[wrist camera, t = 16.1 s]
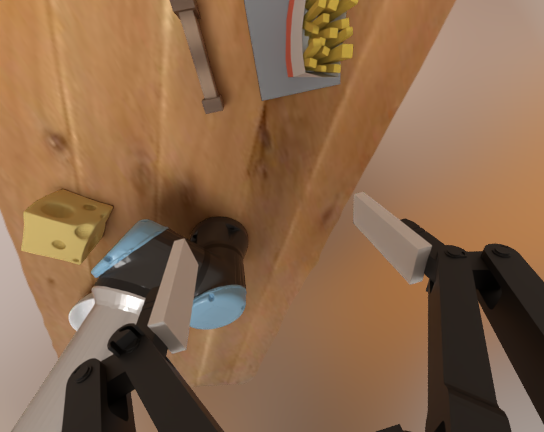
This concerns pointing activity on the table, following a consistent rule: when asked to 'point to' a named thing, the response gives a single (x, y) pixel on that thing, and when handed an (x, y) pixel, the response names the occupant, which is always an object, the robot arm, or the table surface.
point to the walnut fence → (198, 53)
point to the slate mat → (276, 51)
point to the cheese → (64, 226)
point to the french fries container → (317, 37)
